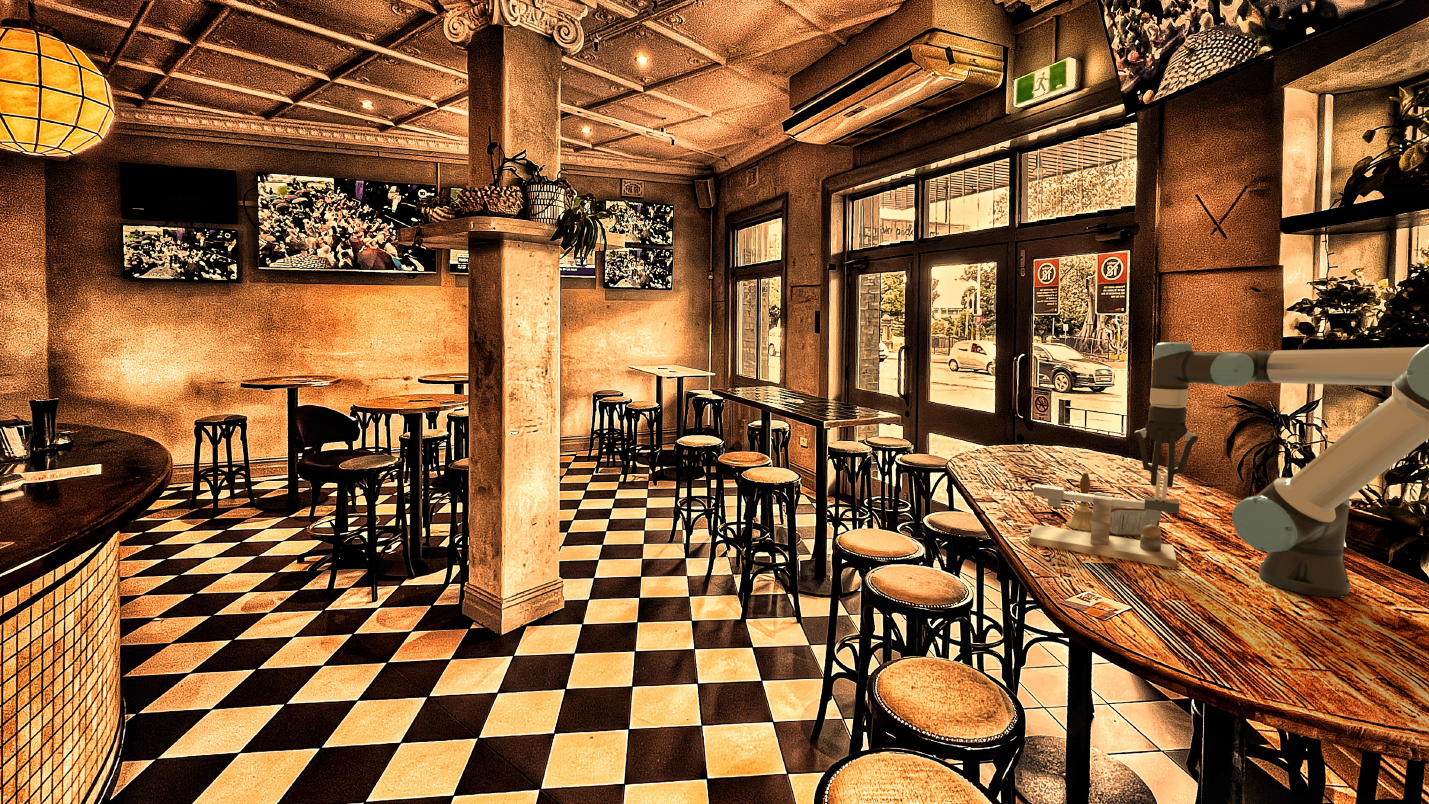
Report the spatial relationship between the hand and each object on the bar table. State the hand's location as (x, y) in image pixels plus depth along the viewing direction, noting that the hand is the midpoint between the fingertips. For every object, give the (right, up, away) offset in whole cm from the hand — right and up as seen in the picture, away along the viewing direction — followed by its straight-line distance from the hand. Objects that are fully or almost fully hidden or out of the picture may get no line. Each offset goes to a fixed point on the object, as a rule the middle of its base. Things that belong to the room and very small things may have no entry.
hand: (1160, 498), depth 159 cm
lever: (-10, -4, +7) cm, 13 cm away
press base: (-10, -14, +8) cm, 19 cm away
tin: (+4, -13, +19) cm, 23 cm away
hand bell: (-5, -12, +26) cm, 29 cm away
